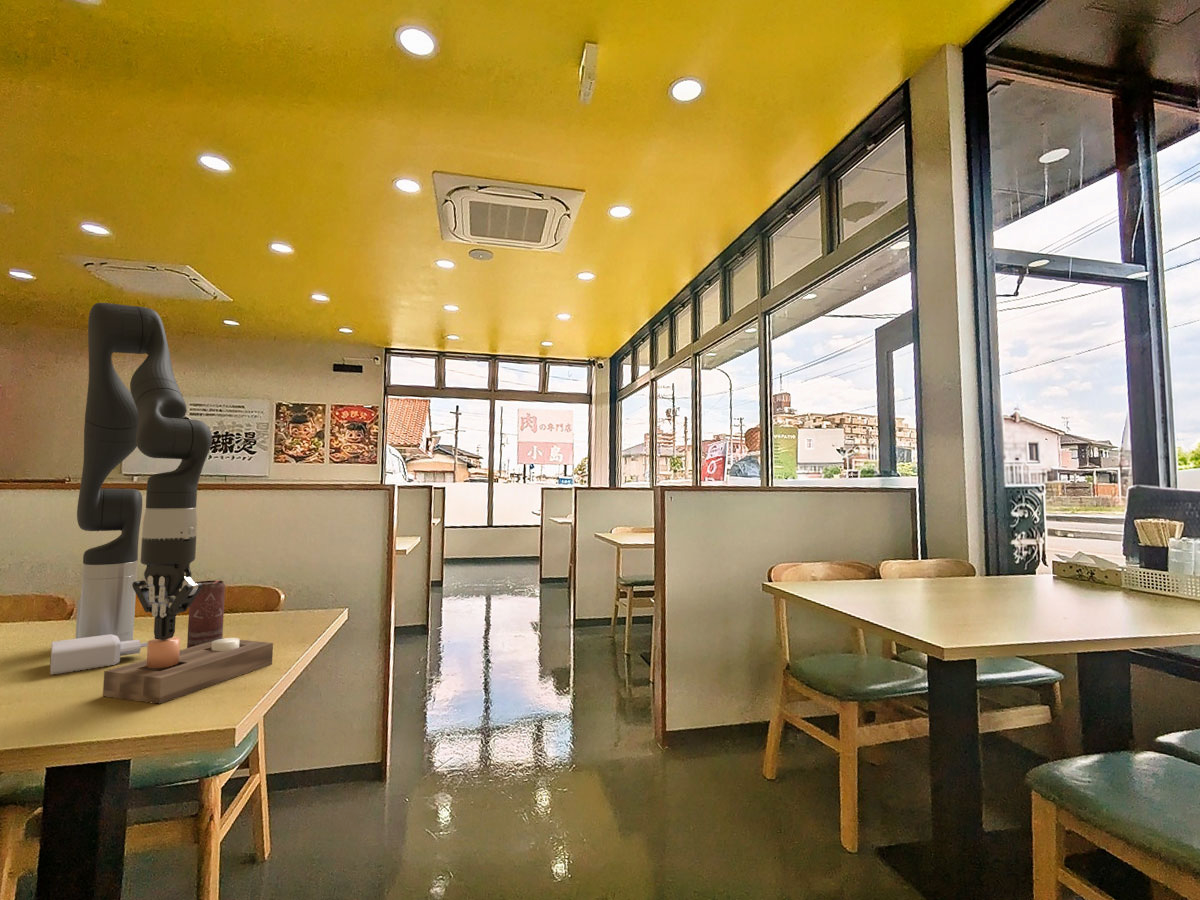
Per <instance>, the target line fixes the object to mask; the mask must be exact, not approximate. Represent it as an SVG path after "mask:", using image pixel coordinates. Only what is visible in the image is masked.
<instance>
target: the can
mask: <svg viewBox="0 0 1200 900" xmlns="http://www.w3.org/2000/svg"><path fill="white" fill-rule="evenodd" d="M194 583H201V584H202V589H201V590H200V592H199V593H198V594H197V596H196V597H195V599H194V600H193V602H192V603H191V605H190V606H189V608H188V624H187V641H186V648H190V647H194V646H197V645H201V644H204V643H208V642H212V641H215V640H218V639H222V638H224V637H223V634H224V632H223V631H224V615H225V611H224V610H225V597H226V596H225V594H226V593H225V592H226V585H225V582H224V581H223V580H220V579H217V580H203V581H196V582H195V581H194Z"/></svg>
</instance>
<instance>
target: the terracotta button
mask: <svg viewBox="0 0 1200 900" xmlns="http://www.w3.org/2000/svg"><path fill="white" fill-rule="evenodd" d="M147 642H148V646H147V650H146V651H147V653H146V659H147V665H146V667H147V668H164V667H169V666H173V665H176V664H178V663H179V653H180V650H181V637H179V636H173V637H172V638H169V639H165V640H158V639H155V638H153V639H151V640H148V641H147Z"/></svg>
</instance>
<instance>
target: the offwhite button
mask: <svg viewBox="0 0 1200 900" xmlns="http://www.w3.org/2000/svg"><path fill="white" fill-rule="evenodd" d="M223 638H224V637H223ZM240 640H241V639H240V638H238V637H225V638H224V639H218V640H215V641H213V642H212V649H211V650H212V651H222V652H225V651H229V650H232V649H235V648H239V642H240Z"/></svg>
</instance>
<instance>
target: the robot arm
mask: <svg viewBox="0 0 1200 900" xmlns="http://www.w3.org/2000/svg"><path fill="white" fill-rule="evenodd" d="M164 326H165V325H164V322H163V320H162V318H161V317H160V314H158V312H157V311H156V310H155V309H152V308H150V307H144V306H135V305H128V304H118V303H112V302H111V303H110V302H96V303H94V304H93V305H92V307H91V308H90V310H89V314H88V321H87V328H88V329H87V330H88V331H87V332H88V333H87V339H88V340H87V341H88V342H87V343H88V386H87V393H86V405H85V413H84V425H83V427H84V428H83V462H82V463H83V464H82V472H81V473H82V474H81V480H80V486H79V493H78V500H77V507H76V521H77V524H78V527H79V528H80V529H81V530H83V531H85V532H86V531H87V532H111V531H112V532H114V531H120V532H121V534H119V536H117V537H116V538H115V539H113V540H112V541H108V542H107V543H104V544H101V545H98V546H95V547H90V548H88V549H87V550H85V551H84V552H83V555H82V571H81V572H82V573H81V588H80V589H81V592H80V598H78V600H77V606H76V607H77V609H76V621H75V622H76V624H75V625H76V626H75V638H74V639H78V638H86V637H94V636H102V635H110V634H112V635H115V636H118V638H119V640H120V642H122V641H130V640H134V629H135V627H134V626H135V613H136V611H135V609H136V599H138V601H139V603H140V605H141V606H142V608H143V611H144V612H145V613H150V614H151V615H152V617H153V618H154V623H153V625H154V627H153V634H154V638H153V639H158V640H165V639H169V638H172V637H175V636H174V635H175V632H176V618H177V615H179V614H180V613H185V612H187V610H189V606H190V605H191V603H192V602H193V600H194V599H195V597H196V596H197V594H198V593H199V592H200V590H201V589H202V584H201V583H195V581H194V580H193V579H192V578H191V577H192V571H191V567H190V565H191V563H193V562H194V561H195V559H196V551H197V535H198V534H197V532H198V531H197V530H198V516H197V499H198V498H197V497H198V484H199V481H200V478H201V474H202V472H203V468H204V465H205V462H206V461H207V458H208V455H209V452H210V450H211V447H212V442H213V434H212V431H211V429H210V427H209V425H207V424H206V423H205V422H204V421H203V420H197V419H192V418H191V419H189V418H184V417H185V416H186V414H187V404H186V401H185V399H184V396H183V394H182V392H181V390H180V387H179V386H178V383H177V381H176V378H175V374H174V371H173V370H174V369H173V365H172V359H171V353H170V349H169V348H170V347H169V344H168V339H167V333H166V330H165V327H164ZM113 353H117V354H118V353H119V354H120V353H121V354H133V355H134V354H135V355H136V354H137V355H145V354H146V355H147V356H146V357H145V360H143V362H141V364H140V365H139V366H138V367H137V368H136V370H135V371H134V372H133V374H132V376H131V379H130V382H129V387H130V388H128V387H127V385H125V383H124V382H123V381H122V379H121V378H120V376H119V374H118V373H117V371H116V369H115V367H114V363H113V359H112V357H113V356H112V355H113ZM136 448H137V449H138V450H139V451H140V452H141V453H142V454H143V455H144V456H147V457H148V458H152V459H167V460H168V459H169V460H172V459H173V460H181V462H180V463H179V465H178V466H177V467H176V469H175V470H171V471H167V472H158V473H154V474H152V475H150V476H149V477H148V479H147V483H146V496H145V497H146V498H145V509H144V515H143V521H142V531H141V544H140V545H141V546H140V547H141V549H140V564H142V565H144V566H146V568H145V570H144V572H143V577H142V578H141V579H140V580H137V579H138V559H139V558H138V557H139V538H140V529H141V519H142V513H143V496H142V492H141V491H140V490H139V489H137V488H102V486H103V484H104V482H105V480H106V479H107V478H108V476H109V475H110V474H111V472H113V470H114V469H115V468H116V467H118V466H119V465H120V464H121V463H123V461H124V460H125V459H127V458H128V457H129V456H130V455H131V454H132V453H133V452H134V451H135V450H136ZM136 596H137V597H136Z"/></svg>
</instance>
